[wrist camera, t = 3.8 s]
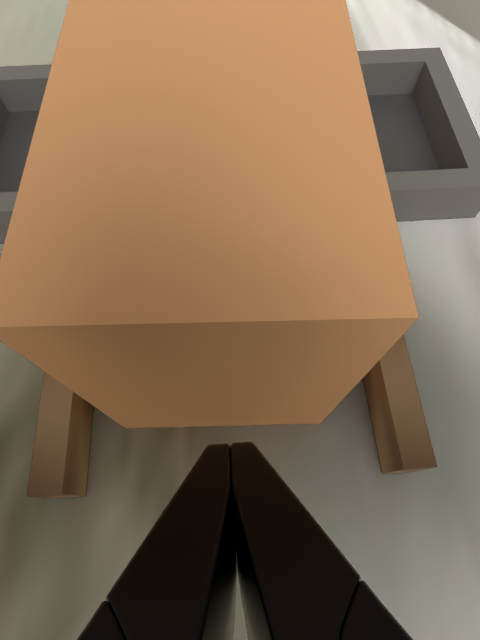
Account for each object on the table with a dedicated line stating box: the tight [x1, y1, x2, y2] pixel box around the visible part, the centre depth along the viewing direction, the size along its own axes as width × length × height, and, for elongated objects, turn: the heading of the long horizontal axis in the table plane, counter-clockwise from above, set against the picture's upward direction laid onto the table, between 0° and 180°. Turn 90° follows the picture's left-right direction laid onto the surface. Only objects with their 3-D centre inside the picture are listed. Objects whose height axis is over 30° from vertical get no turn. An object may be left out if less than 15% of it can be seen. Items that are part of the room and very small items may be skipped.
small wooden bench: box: [27, 335, 437, 498], centre depth 18 cm, size 27×12×4 cm, turn 4°
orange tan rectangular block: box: [0, 0, 419, 428], centre depth 14 cm, size 15×7×9 cm, turn 1°
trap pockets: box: [0, 48, 480, 243], centre depth 19 cm, size 9×23×2 cm, turn 94°
